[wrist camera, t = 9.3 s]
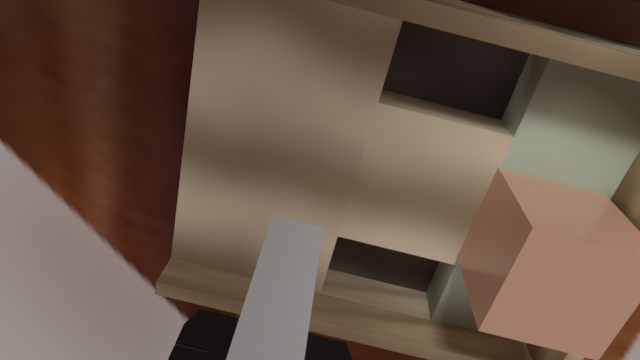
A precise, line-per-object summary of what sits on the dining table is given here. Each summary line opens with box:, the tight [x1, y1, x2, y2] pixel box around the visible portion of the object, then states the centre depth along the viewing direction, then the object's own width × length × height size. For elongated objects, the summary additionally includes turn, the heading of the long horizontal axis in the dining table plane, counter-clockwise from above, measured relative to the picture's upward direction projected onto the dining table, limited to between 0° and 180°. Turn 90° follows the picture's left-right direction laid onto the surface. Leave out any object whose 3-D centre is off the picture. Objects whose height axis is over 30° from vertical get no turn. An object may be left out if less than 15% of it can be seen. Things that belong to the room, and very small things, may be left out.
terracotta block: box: [457, 167, 640, 360], centre depth 20 cm, size 5×5×5 cm
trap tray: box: [155, 0, 640, 360], centre depth 22 cm, size 16×20×6 cm
